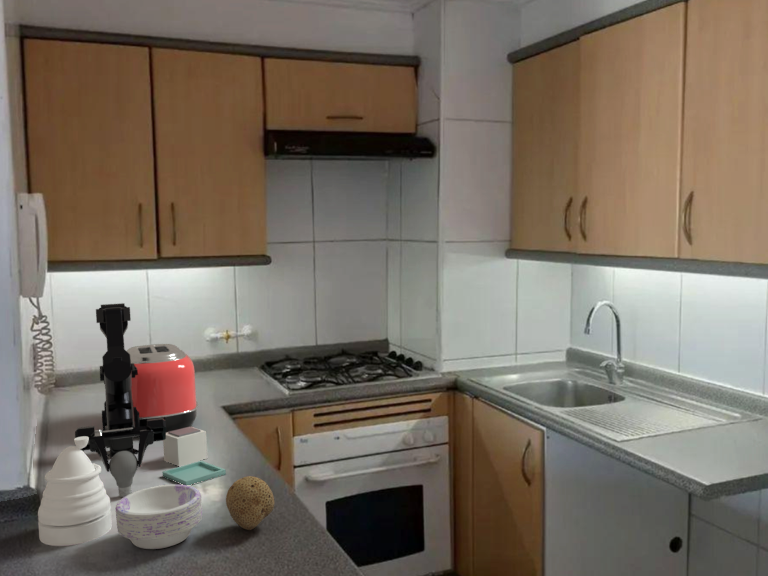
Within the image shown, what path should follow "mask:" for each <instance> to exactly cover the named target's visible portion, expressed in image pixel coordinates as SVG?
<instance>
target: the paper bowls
mask: <svg viewBox="0 0 768 576" xmlns="http://www.w3.org/2000/svg"><path fill="white" fill-rule="evenodd" d="M115 519H116V527H117V528H116V529H117V532H118V534H119V536H120V535H121V536H120V537H123V538H125V539H129V540H130V542H131V543H132V544H133V545H134V546H136V547H137V548H140V549H145V550H156V549H157V550H158V549H164V548H169V547H172V546H175V545H177V544H180V543H181V542H183V541H185V540H186V539H187V538H188V537H189V536H190V534H191V532H192V529H193V528H195V527H196V526H198V525H199V524H200V522H201V521H202V519H203V503H202V493H201V491H200V490H199V489H197V488H196V487H194V486H193V485H191V486H187V485H181V484H164V485H161V484H160V485H156V486H151V487H146V488H143V489H139V490H136V491H133V492H132V493H131V494H129V495H127V496H125V497H122V498H121V499H119V501H118V502H117V503H116V505H115Z"/></svg>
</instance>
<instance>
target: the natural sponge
mask: <svg viewBox="0 0 768 576" xmlns="http://www.w3.org/2000/svg"><path fill="white" fill-rule="evenodd" d="M274 497H275V496H274V494H273V491H272V489H271V488H270V485H268V483H267V482H266V481H264V480H263V479H261V478H259V477H256V476H252V475H249V476H247V475H246V476H244V477H241V478H239V479H237V480H236V481H234V482H233V483H232V484H231V486H229V488H228V490H227V491H226V496H225V504H226V508H227V510H228V512H229V515H230V516H231V518H232V520H233V521H234V523H236V524H237V525H238V526H239V527H241V528H242V529H244V530H247V531H251V530H253V529H255V528H256V527H257V526H258V525H259V524H260V523H261V522H263V520H264V519H265V518H267V517H268V516H269V515H270V514H271V513H272V512H273V510H274V508H275V498H274Z"/></svg>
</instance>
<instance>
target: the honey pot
mask: <svg viewBox="0 0 768 576" xmlns="http://www.w3.org/2000/svg"><path fill="white" fill-rule="evenodd" d="M73 440H74V444H75V445H74V446H73V445H70V446H67V447H66V448H64V449H63V450H62V451H61V452H60V454H59V455H58V456H57V458H56V459H55V462H54V464H53V466H52V469H50V470H49V471H47V472H46V473H45V476H44V480H45V481H46V486H45V489H44V490H43V492H42V498H41V500H40V505H39V507H38V511H37V516H38V517H37V520H38V522H37V524H38V537H39V538H38V539H39V540H40V542H41V543H43V545H47V546H48V545H49V546H53V547H65V546H68V547H69V546H74V545H80V544H85V543H88V542H91V541H93V540H96V539H99V538H101V537H103V536H105V535H106V534H107V533H108V532H110V531H111V529H112V527H113V525H112V524H113V523H112V509H111V498H110V496H109V495H108V494H107V490H106V488H105V487H104V482H103V481H102V480H101V477H100V474H101V472H102V467H101V465H99V464H97V463H94V462H92V461H91V459H90V458H89V456H88V455H87V454H86V453H85V452H84V451H82V450H81V449H82V448H84V447H86V445H87V444H88V440H89V437H87V436H82V437H77V438H75V437H74V439H73Z"/></svg>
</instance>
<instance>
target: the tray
mask: <svg viewBox="0 0 768 576" xmlns="http://www.w3.org/2000/svg"><path fill="white" fill-rule="evenodd" d="M226 470H227V469H225V468H223V467H220V466H217V465H215V464H213V463H209V462H206V461H205V460H201V461H198V462H194V463H191V464H187V465H184V466H181V467H178V466H176V467H174V468H170V469H167V470H163V471H162V477H163V478H165V477H166V478H165V479H167V478H168V479H167V480H169V479H171V480H170V481H172V480H174V481H176V482H179V483H181V484H183V485H191V484H194V483H197V482H200V483H202V482H201V481H203V482H206V481H205V480H207V481H209V480H208V479H210V480H212V479H211V478H213V479H216V478H219V477H222V476H221V475H223V476H226V475H225V474H227V472H226ZM218 476H219V477H218ZM215 477H216V478H215ZM174 481H173V482H174ZM176 482H175V483H176ZM179 483H178V484H179ZM181 484H180V485H181ZM197 484H198V483H197ZM194 485H195V484H194ZM191 486H192V485H191Z"/></svg>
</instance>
